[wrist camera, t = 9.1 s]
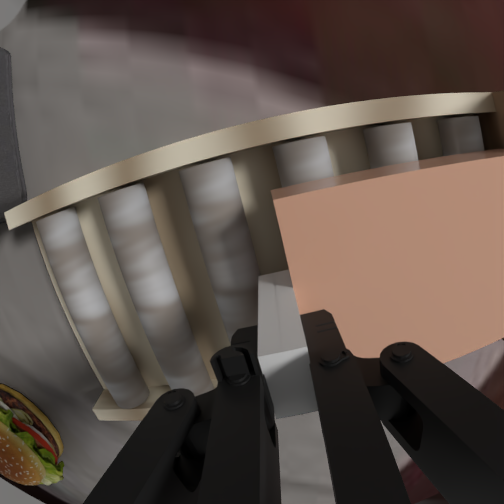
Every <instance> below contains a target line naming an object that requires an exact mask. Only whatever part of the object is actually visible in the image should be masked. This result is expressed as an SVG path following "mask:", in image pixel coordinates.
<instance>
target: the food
mask: <svg viewBox="0 0 504 504" xmlns="http://www.w3.org/2000/svg"><path fill="white" fill-rule="evenodd" d="M62 452H63V444H62V441H61V437H60V434H59V433H58V431H57V430H56V429H55V427H54V426H53V425H52V423H51V422H50V421H49V419H48V418H47V417H46V416H45V415H44V414H43V413H42V412H41V411H40V410H39V409H38V408H37V407H36V406H35V405H34V404H33V403H32V402H30V401H29V400H28V399H27V398H25V397H24V396H23V395H22V394H20V393H19V392H17V391H15V390H13V389H11V388H9V387H7V386H5V385H4V384H0V473H1V474H2V475H3V476H5V477H6V478H8V479H10V480H12V481H15V482H17V483H19V484H24V485H38V484H45V485H50V484H51V483H57V482H58V481H59V480H63V478H64V477H63V475H62V474H63V467H64V463H63V461H61V462H59V463H57V461H58V458H59V457H60V456H61V454H62Z"/></svg>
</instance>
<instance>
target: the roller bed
mask: <svg viewBox="0 0 504 504" xmlns="http://www.w3.org/2000/svg"><path fill="white" fill-rule="evenodd" d="M491 149H504V91H498V92H492V93H446V94H428V95H415V96H403V97H393V98H384V99H376V100H368V101H360V102H353V103H346V104H340V105H333V106H327V107H321V108H316V109H310V110H305V111H300V112H295V113H290V114H285V115H280V116H275V117H271V118H266V119H262V120H258V121H253V122H249V123H245V124H241V125H237V126H233V127H229V128H225V129H222V130H218V131H214V132H211V133H207V134H203V135H200V136H196V137H193V138H190V139H186V140H183V141H180V142H177V143H173V144H170V145H167V146H164V147H161V148H158V149H155V150H152V151H149V152H146V153H143V154H140V155H137V156H134V157H132V158H129V159H126V160H123V161H121V162H118V163H115V164H113V165H110V166H107V167H105V168H102V169H100V170H97V171H94V172H92V173H89V174H87V175H85V176H82V177H80V178H77V179H75V180H73V181H70V182H68V183H66V184H63V185H61V186H59V187H56V188H54V189H52V190H50V191H48V192H45V193H43V194H41V195H39V196H37V197H35V198H33V199H31V200H28V201H26V202H24V203H22V204H20V205H18V206H16V207H14V208H12V209H10V210H8V211H6V212H4V214H5V218H6V221H7V225H8V228H9V230H11V229H13V228H16V227H18V226H21V225H24V224H26V223H29V222H32V225H33V228H34V232H35V235H36V238H37V241H38V244H39V247H40V250H41V253H42V256H43V259H44V262H45V264H46V267H47V270H48V272H49V275H50V278H51V280H52V283H53V285H54V288H55V290H56V293H57V295H58V298H59V300H60V303H61V305H62V307H63V309H64V312H65V314H66V316H67V319H68V321H69V323H70V325H71V327H72V329H73V332H74V334H75V336H76V338H77V340H78V342H79V344H80V346H81V348H82V350H83V352H84V354H85V356H86V358H87V360H88V362H89V363H90V365H91V367H92V369H93V371H94V373H95V375H96V376H97V378H98V380H99V382H100V384H101V385H102V387H103V389H104V390H103V392H102V394H101V395H100V397H99V399H98V400H97V402H96V404H95V405H94V407H93V409H92V410H93V412H94V413H95V415H96V416H97V418H98V419H99V420H106V421H132V420H143V418H144V417H145V416H146V414H147V413H148V411H149V410H150V409H151V407H152V406H153V404H154V403H155V401H156V400H157V399H158V398H159V397H160V396H161V395H162V394H164V393H166V392H167V391H170V390H173V389H179V388H184V389H189V390H190V391H192V392H193V393H194V396H198V395H200V394H203V393H206V392H209V391H211V390H213V389H215V388H216V387H217V384H218V381H217V379H216V376H215V373H214V371H213V368H212V366H211V363H210V359H211V357H212V356H213V355H214V354H215V353H216V352H217V351H219V350H221V349H223V348H225V347H228V346H231V338H232V336H233V334H234V333H235V332H236V331H237V329H240V328H245V327H250V326H255V325H258V276H262V275H266V274H271V273H275V272H280V271H284V270H288V269H289V268H288V264H287V259H286V255H285V251H284V246H283V242H282V237H281V233H280V229H279V225H278V220H277V216H276V212H275V208H274V203H273V199H272V195H271V191H270V190H274V189H278V188H283V187H287V186H291V185H296V184H300V183H305V182H309V181H314V180H319V179H323V178H328V177H333V176H338V175H343V174H348V173H353V172H358V171H363V170H368V169H373V168H379V167H384V166H389V165H395V164H400V163H406V162H412V161H418V160H424V159H430V158H436V157H442V156H449V155H455V154H462V153H469V152H476V151H484V150H491ZM502 339H503V340H504V338H502Z"/></svg>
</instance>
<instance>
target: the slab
mask: <svg viewBox="0 0 504 504" xmlns="http://www.w3.org/2000/svg"><path fill="white" fill-rule="evenodd" d="M270 191H271V195H272V199H273V203H274V208H275V212H276V216H277V220H278V225H279V229H280V233H281V237H282V242H283V246H284V251H285V255H286V259H287V264H288V268H289V273H290V277H291V281H292V285H293V289H294V293H295V297H296V302H297V306H298V310H299V314H300V315H301V314H306V313H310V312H314V311H318V310H323V309H325V310H326V311H328V312H329V313H331V314H332V316H333V318H334V320H335V323H336V325H337V328H338V330H339V332H340V335H341V337H342V339H343V342H344V344H345V347H346V349H349V350H350V351H351V352H352V354H353V355H354V356H356V357H361V358H379V357H380V353H381V352H382V350H383V349H384V348H385V347H387V346H388V345H390V344H393V343H396V342H405V341H406V342H412V343H415V344H417V345H419V346H420V347H422V348H423V349H424V350H426V351H427V352H428V353H430V354H431V355H432V356H434V357H435V358H436V359H438V360H439V361H440V362H442V363H446V362H448V361H451V360H453V359H456V358H458V357H461V356H463V355H466V354H468V353H470V352H473V351H475V350H477V349H480V348H482V347H484V346H486V345H489V344H491V343H493V342H495V341H497V340H499V339H502V338H504V149H491V150H484V151H476V152H469V153H462V154H455V155H449V156H442V157H436V158H430V159H424V160H418V161H412V162H406V163H400V164H395V165H389V166H384V167H379V168H373V169H368V170H363V171H358V172H353V173H348V174H343V175H338V176H333V177H328V178H323V179H319V180H314V181H309V182H305V183H300V184H296V185H291V186H287V187H283V188H278V189H274V190H270Z"/></svg>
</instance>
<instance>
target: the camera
mask: <svg viewBox="0 0 504 504" xmlns="http://www.w3.org/2000/svg"><path fill="white" fill-rule="evenodd" d="M26 201H27V192H26V186H25V181H24V176H23V171H22V165H21V159H20V154H19V147H18V140H17V132H16V125H15V115H14V105H13V93H12V73H11V55H10V53H9V52H8V51H7V50H5V49H3V48H1V47H0V223H3V222H5V221H6V218H5V214H4V212H6V211H8V210H10V209H12V208H14V207H16V206H18V205H20V204H22V203H24V202H26Z"/></svg>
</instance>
